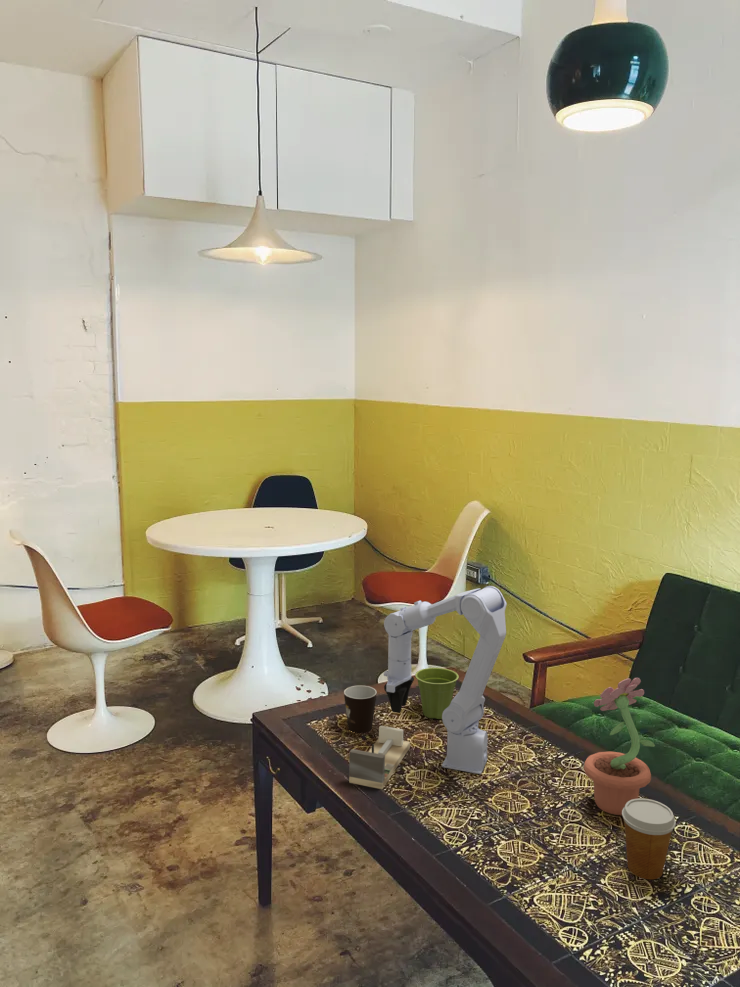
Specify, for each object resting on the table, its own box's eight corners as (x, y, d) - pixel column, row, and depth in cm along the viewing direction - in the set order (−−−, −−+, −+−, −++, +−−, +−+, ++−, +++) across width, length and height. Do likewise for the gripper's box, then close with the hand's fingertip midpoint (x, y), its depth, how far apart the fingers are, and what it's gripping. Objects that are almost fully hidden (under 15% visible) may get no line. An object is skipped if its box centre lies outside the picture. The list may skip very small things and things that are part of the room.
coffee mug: (376, 735, 199) (376, 699, 198) (342, 735, 200) (342, 698, 198) (376, 716, 211) (377, 681, 209) (345, 715, 211) (345, 680, 210)
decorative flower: (626, 784, 177) (634, 659, 172) (666, 817, 164) (676, 683, 159) (569, 794, 172) (576, 666, 168) (606, 829, 159) (614, 691, 155)
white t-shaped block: (380, 740, 193) (380, 725, 192) (403, 744, 191) (403, 729, 190) (368, 756, 185) (368, 740, 185) (392, 760, 183) (392, 744, 182)
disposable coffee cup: (629, 847, 153) (633, 791, 151) (678, 867, 147) (683, 809, 145) (610, 871, 146) (614, 812, 144) (661, 892, 140) (665, 831, 138)
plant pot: (464, 711, 214) (465, 672, 213) (445, 727, 204) (446, 687, 203) (427, 701, 221) (427, 663, 219) (406, 716, 211) (407, 677, 209)
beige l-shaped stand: (379, 742, 196) (380, 714, 195) (409, 747, 193) (410, 719, 192) (349, 782, 177) (349, 751, 175) (382, 789, 174) (382, 758, 173)
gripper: (393, 646, 202) (393, 695, 204) (374, 665, 189) (374, 717, 191) (419, 649, 200) (418, 699, 202) (402, 669, 186) (401, 722, 188)
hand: (398, 708), depth 196 cm, fingers open, 4 cm apart
